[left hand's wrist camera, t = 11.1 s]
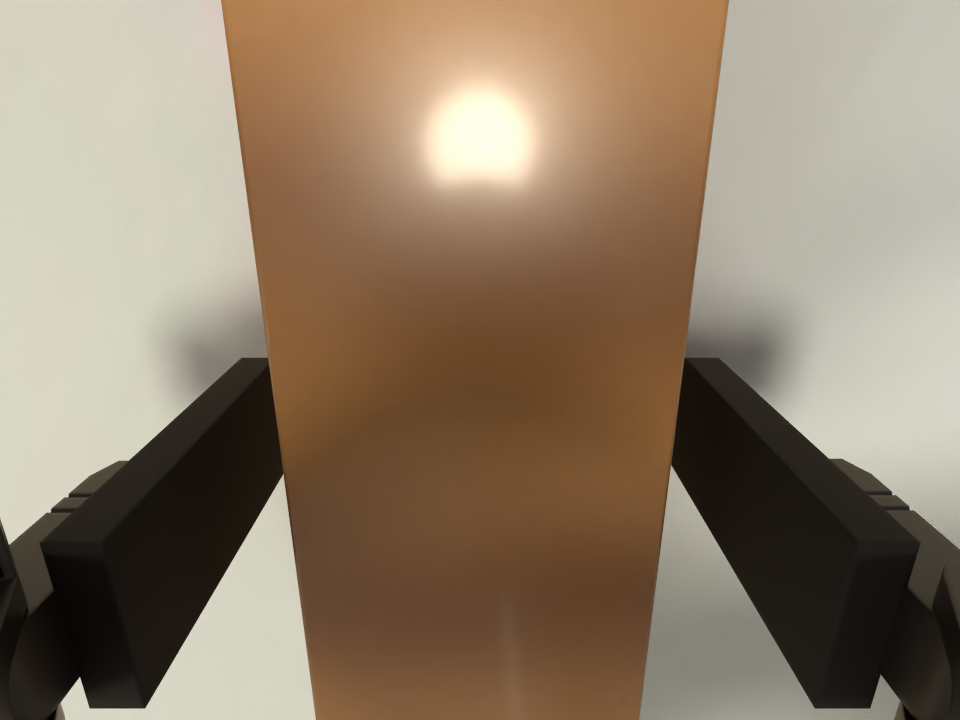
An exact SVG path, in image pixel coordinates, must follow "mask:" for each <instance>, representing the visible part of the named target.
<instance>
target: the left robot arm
mask: <svg viewBox="0 0 960 720" xmlns="http://www.w3.org/2000/svg"><path fill="white" fill-rule="evenodd" d="M671 465H672V467H673V468H674V470H675V472H676V474H677V475H678V477H679V479H680V480H681V482H682V484H683V485H684V487H685V489H686V491H687V492H688V494H689V496H690V497H691V499H692V501H693V502H694V504H695V506H696V507H697V509H698V511H699V513H700V514H701V516H702V518H703V519H704V521H705V523H706V524H707V526H708V528H709V530H710V531H711V533H712V535H713V536H714V538H715V540H716V541H717V543H718V545H719V546H720V548H721V550H722V552H723V553H724V555H725V557H726V558H727V560H728V562H729V563H730V565H731V567H732V569H733V570H734V572H735V574H736V575H737V577H738V579H739V580H740V582H741V584H742V585H743V587H744V589H745V591H746V592H747V594H748V596H749V597H750V599H751V601H752V602H753V604H754V606H755V608H756V609H757V611H758V613H759V614H760V616H761V618H762V619H763V621H764V623H765V624H766V626H767V628H768V630H769V631H770V633H771V635H772V636H773V638H774V640H775V641H776V643H777V645H778V647H779V648H780V650H781V652H782V653H783V655H784V657H785V658H786V660H787V662H788V664H789V665H790V667H791V669H792V670H793V672H794V674H795V675H796V677H797V679H798V680H799V682H800V684H801V686H802V687H803V689H804V691H805V692H806V694H807V696H808V697H809V699H810V701H811V703H812V704H813V706H814V708H870V707H871V704H872V701H873V698H874V694H875V691H876V688H877V684H878V681H879V678H880V675H882V676H883V678H884V679H885V680H886V682H887V683H888V684H889V686H890V687H891V688H892V690H893V691H894V692H895V694H896V695H897V696H898V698H899V699H900V703H899V706H898V709H897V712H896V715H895V718H894V720H960V549H958V548H957V547H956V546H955V545H954V544H953V543H951V542H950V541H949V540H948V539H947V538H945V537H944V536H943V535H942V534H941V533H940V532H938V531H937V530H936V529H935V528H934V527H933V526H931V525H930V524H929V523H928V522H927V521H926V520H924V519H923V518H922V517H921V516H920V515H919V514H917V513H916V512H915V511H910V509H909V506H908V505H907V504H906V503H904V502H903V501H902V500H901V499H900V498H899V497H897V496H896V495H892V491H890V490H889V489H888V488H887V487H886V486H885V485H883V484H882V483H881V482H880V481H879V480H878V479H876V478H875V477H874V476H873V475H872V474H870V473H868V472H866V471H864V470H862V469H860V468H858V467H857V466H855V465H853V464H851V463H849V462H847V461H845V460H843V459H829V458H827V457H826V456H825V455H824V454H823V453H822V452H821V451H820V450H819V449H818V448H816V447H815V446H814V445H813V444H812V443H811V442H810V441H809V440H808V439H807V438H806V437H804V436H803V435H802V434H801V433H800V432H799V431H798V430H797V429H796V428H795V427H793V426H792V425H791V424H790V423H789V422H788V421H787V420H786V419H785V418H784V417H783V416H781V415H780V414H779V413H778V412H777V411H776V410H775V409H774V408H773V407H772V406H770V405H769V404H768V403H767V402H766V401H765V400H764V399H763V398H762V397H761V396H760V395H758V394H757V393H756V392H755V391H754V390H753V389H752V388H751V387H750V386H749V385H747V384H746V383H745V382H744V381H743V380H742V379H741V378H740V377H739V376H738V375H737V374H735V373H734V372H733V371H732V370H731V369H730V368H729V367H728V366H727V365H726V364H724V363H723V362H722V361H721V360H720V359H719V358H685V359H684V367H683V375H682V383H681V391H680V399H679V407H678V415H677V422H676V430H675V438H674V446H673V454H672V462H671ZM283 474H284V473H283V465H282V458H281V450H280V443H279V435H278V427H277V420H276V412H275V405H274V397H273V389H272V382H271V374H270V367H269V359H268V358H241V359H240V360H239V361H238V362H237V363H236V364H234V365H233V366H232V367H231V368H230V369H229V370H228V371H227V372H226V373H225V374H223V375H222V376H221V377H220V378H219V379H218V380H217V381H216V382H215V383H214V384H213V385H211V386H210V387H209V388H208V389H207V390H206V391H205V392H204V393H203V394H202V395H200V396H199V397H198V398H197V399H196V400H195V401H194V402H193V403H192V404H191V405H190V406H188V407H187V408H186V409H185V410H184V411H183V412H182V413H181V414H180V415H179V416H177V417H176V418H175V419H174V420H173V421H172V422H171V423H170V424H169V425H168V426H167V427H165V428H164V429H163V430H162V431H161V432H160V433H159V434H158V435H157V436H156V437H154V438H153V439H152V440H151V441H150V442H149V443H148V444H147V445H146V446H145V447H144V448H142V449H141V450H140V451H139V452H138V453H137V454H136V455H135V456H134V457H133V458H131V459H130V460H129V461H118V462H116V463H114V464H112V465H110V466H108V467H106V468H104V469H102V470H100V471H98V472H96V473H95V474H93V475H91V476H89V477H88V478H87V479H86V480H84V481H83V482H82V483H81V484H80V485H79V486H77V487H76V488H75V489H74V490H73V491H72V492H70V493H69V497H68V498H63V499H62V500H61V501H60V502H59V503H58V504H56V505H55V506H54V507H53V508H52V509H51V513H46V514H45V515H44V516H43V517H41V518H40V519H39V520H38V521H37V522H36V523H34V524H33V525H32V526H31V527H30V528H29V529H27V530H26V531H25V532H24V533H23V534H22V535H20V536H19V537H18V538H17V539H16V540H15V541H13V542H12V543H11V544H10V545H9V544H8V541H7V538H6V535H5V532H4V529H3V526H2V523H1V520H0V720H65V716H64V712H63V709H62V706H61V703H60V702H61V701H62V700H63V698H64V697H65V696H66V694H67V693H68V692H69V690H70V689H71V688H72V686H73V685H74V684H75V682H76V681H77V680H78V678H79V677H80V678H81V681H82V684H83V688H84V691H85V694H86V698H87V701H88V704H89V707H90V708H146V706H147V704H148V703H149V701H150V699H151V697H152V696H153V694H154V692H155V691H156V689H157V687H158V686H159V684H160V682H161V680H162V679H163V677H164V675H165V674H166V672H167V670H168V669H169V667H170V665H171V664H172V662H173V660H174V658H175V657H176V655H177V653H178V652H179V650H180V648H181V647H182V645H183V643H184V641H185V640H186V638H187V636H188V635H189V633H190V631H191V630H192V628H193V626H194V625H195V623H196V621H197V619H198V618H199V616H200V614H201V613H202V611H203V609H204V608H205V606H206V604H207V602H208V601H209V599H210V597H211V596H212V594H213V592H214V591H215V589H216V587H217V586H218V584H219V582H220V580H221V579H222V577H223V575H224V574H225V572H226V570H227V569H228V567H229V565H230V563H231V562H232V560H233V558H234V557H235V555H236V553H237V552H238V550H239V548H240V547H241V545H242V543H243V541H244V540H245V538H246V536H247V535H248V533H249V531H250V530H251V528H252V526H253V524H254V523H255V521H256V519H257V518H258V516H259V514H260V513H261V511H262V509H263V507H264V506H265V504H266V502H267V501H268V499H269V497H270V496H271V494H272V492H273V491H274V489H275V487H276V485H277V484H278V482H279V480H280V479H281V477H282V475H283Z"/></svg>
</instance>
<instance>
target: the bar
mask: <svg viewBox="0 0 960 720" xmlns="http://www.w3.org/2000/svg"><path fill="white" fill-rule="evenodd" d="M221 3H222V10H223V18H224V25H225V33H226V41H227V48H228V56H229V63H230V71H231V78H232V86H233V94H234V101H235V109H236V116H237V124H238V132H239V139H240V147H241V154H242V162H243V170H244V177H245V185H246V192H247V200H248V207H249V215H250V223H251V230H252V238H253V245H254V253H255V261H256V268H257V276H258V283H259V291H260V298H261V306H262V314H263V321H264V329H265V336H266V344H267V352H268V359H269V367H270V374H271V382H272V389H273V397H274V405H275V412H276V420H277V427H278V435H279V443H280V450H281V458H282V465H283V473H284V480H285V488H286V496H287V503H288V511H289V518H290V526H291V534H292V541H293V549H294V556H295V564H296V571H297V579H298V587H299V594H300V602H301V609H302V617H303V625H304V632H305V640H306V647H307V655H308V663H309V670H310V678H311V685H312V693H313V700H314V708H315V716H316V720H639V716H640V708H641V700H642V692H643V684H644V676H645V668H646V660H647V652H648V644H649V636H650V628H651V620H652V612H653V604H654V596H655V588H656V580H657V572H658V564H659V556H660V548H661V540H662V532H663V524H664V516H665V508H666V500H667V492H668V484H669V476H670V468H671V460H672V452H673V444H674V436H675V428H676V420H677V412H678V404H679V396H680V388H681V380H682V372H683V364H684V356H685V348H686V340H687V332H688V324H689V316H690V308H691V300H692V292H693V284H694V276H695V268H696V260H697V252H698V244H699V236H700V228H701V220H702V212H703V204H704V196H705V188H706V180H707V172H708V164H709V156H710V148H711V140H712V132H713V124H714V116H715V108H716V100H717V92H718V84H719V76H720V68H721V60H722V52H723V44H724V36H725V27H726V19H727V11H728V3H729V0H221Z"/></svg>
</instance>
